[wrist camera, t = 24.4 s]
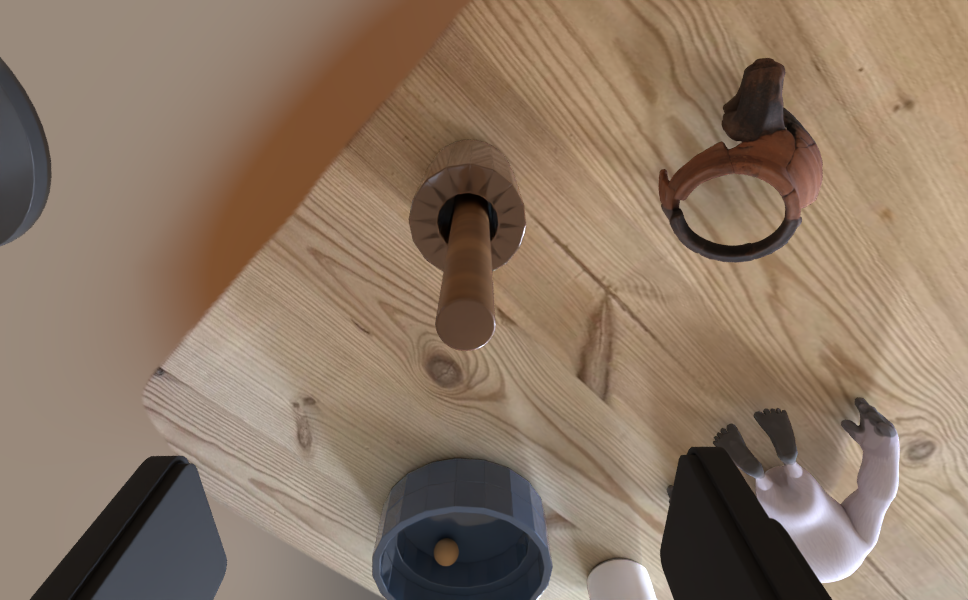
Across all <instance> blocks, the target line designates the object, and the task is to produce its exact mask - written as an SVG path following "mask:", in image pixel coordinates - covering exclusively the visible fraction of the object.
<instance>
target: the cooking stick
mask: <svg viewBox="0 0 968 600" xmlns="http://www.w3.org/2000/svg"><path fill="white" fill-rule="evenodd" d="M435 325H436V331H437V333H438V335H439V337H440V339H441V340H442V341H443V342H444V343H445V344H446V345H448V346H449V347H451V348H453V349H456V350H461V351H471V350H475V349H478V348H480V347H482V346H484V345H485V344H486V343H487V342H488V341H489V340H490V339H491V338H492V336H493V334H494V332H495V327H496V321H495V306H494V290H493V275H492V260H491V245H490V230H489V215H488V201H487V200H486V199H484V198H483V197H482V196H479V195H475V194H471V193H464V194H457V195H456V199H455V205H454V211H453V217H452V224H451V230H450V236H449V242H448V248H447V254H446V260H445V267H444V273H443V279H442V285H441V291H440V297H439V303H438V310H437V316H436V323H435Z"/></svg>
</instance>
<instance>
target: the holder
mask: <svg viewBox="0 0 968 600" xmlns="http://www.w3.org/2000/svg"><path fill="white" fill-rule="evenodd" d="M464 193H471V194H475V195H479V196H482V197H483V198H484V199H486V200H487V201H488V215H489V230H490V245H491V260H492V271H494V270H496V269H498V268H500V267H501V266H503V265H505V264H506V263H507V262H508V261H509V260H510V259H511V257H512V256H513V255H514V254H515V253H516V251H517V250H518V249H519V247H520V245H521V242H522V238H523V235H524V232H525V229H526V218H525V209H524V203H523V200H522V197H521V194H520V190H519V187H518V184H517V181H516V178H515V175H514V172H513V170H512V168H511V166H510V164H509V162H508V160H507V159H506V157H505V156H504V155H503V154H502V153H501V152H500V151H499V150H498V149H497V148H495V147H494V146H492V145H490V144H488V143H486V142H483V141H479V140H471V139H468V140H460V141H456V142H454V143H451V144H449V145H447V146H446V147H444V148H443V149H441V150H440V151H439V152H438V153H437V154H436V156H435V157H434V158H433V160H432V161H431V163H430V164H429V166H428V168H427V170H426V172H425V174H424V176H423V178H422V181H421V183H420V185H419V187H418V189H417V191H416V193H415V196H414V198H413V201H412V206H411V211H410V216H409V224H410V229H411V234H412V238H413V242H414V243H415V245H416V246H417V248H418V249H419V251H420V252H421V254H422V255H423V257H424V258H425V259H426V260H427V261H428V262H430V263H431V264H433V265H434V266H436V267H437V268H439V269H440V270H442V271H443V272H444V267H445V260H446V254H447V248H448V242H449V236H450V230H451V224H452V217H453V211H454V205H455V199H456V195H457V194H464Z"/></svg>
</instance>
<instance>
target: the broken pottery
mask: <svg viewBox="0 0 968 600" xmlns="http://www.w3.org/2000/svg"><path fill="white" fill-rule="evenodd" d="M784 76H785V68H784V66H783V65H782V64H780V63H777V62H775V61H774V60H773V59H771V58H763V59H757V60H756V61H755V62H754V63H753V64H752V65H750V66H748V67H747V68H746V69H745V71H744V75H743V79H742V82H741V85H740V88H739V90H738V92H737V94H736V95H735V96H734V97H733V98H732V99H731V100H730V101H729V102H728V103H726V104H725V105H724V106H723V110H724V112H725V114H724V115H723V121H722V127H723V130H724V131H725V132H726V134H727V135H728V136H729V137H730V138H731V139H733V140H735V141H742V143H741V144H739V145H738V146H736V147H734V148H732V149H727V147H726V146H725V144H724V143H723V142H719V143H717V144H715V145H714V146H712V147H710V148H708V149H706V150H705V151H704V152H702V153H700V154H698V155H696V156H695V157H694V158H692V159H691V160H690V161H689V162H688V163H687V164H685V165H684V166H683V167H681V168H680V169H679V170H678V171H677V172H676V173H675V174H674V176H673V177H672V178H671V180H670V181H669V180H668V176H667V171H666V170H665V169H662V170H661V171H660V175H659V196H660V201H661V202H662V204H661V207H662V210H663V211H664V213H665V215H666V216H667V218H668V219H669V221H670V225H671V227H672V229H673V231H674V233H675V234H676V235H677V237H678V239H679V240H680V241H681V242H682V243H683V244H684V245H685V246H686V247H687V248H689V249H690V250H692V251H694V252H695V253H699V254H700V255H702V256H704V257H707V258H709V259H714V260H718V261H722V262H744V261H751V260H753V259H758V258H761V257H764V256H766V255H769V254H772V253H773V252H774V251H776V250H778V249H780V248H781V247H783V246H784V245H785V244H787V242H788V240H789V239H790V238H791V237H792V235H793V234H794V232H795V231H796V229H797V227H798V226H799V225H800V224H801V222H802V218H801V217H800V213H801V208H804V207H806V206H807V205H810V204H811V203H812V202H814V201H815V200H816V199H817V196H818V194H819V190H820V188H821V184H822V178H823V170H822V165H823V162H822V157H821V154H820V151H819V148H818V147H817V145H816V143H815V141H814V140H813V139H812V137H811V136H810V134H809V133H808V132H807V131H806V130H805V129H804V127H803V126H802V125H801V123H800V122H799V121H798V120H797V119H796V118H795V117H794V116H793V115H792V114H791V113H790V112H789V111H787V110H786V109H785V108H784V107H783V99H782V89H783V81H784ZM785 127H786V128H787V130H786V129H785ZM733 173H735V174H744V175H749V176H753V177H756V178H759V179H761V180H764V181H765V182H767V183H769V184H770V185H772V186H773V187H774V188H775V189H776V190H777V191H778V192H779V193H780V195H781V196H782V198H783V200H784V203H785V218H784V220H783V222H782V224H781V225H780V227H779V228H778V229H777V230H776V231H775V232H774V233H772V234H771V235H770V236H768V237H767V238H765V239H763V240H761V241H759V242H755V243H752V244H751V243H747V244H744V245H738V246H728V245H721V244H717V243H713V242H711V241H708V240H706V239H704V238H702V237H700V236H699V235H697V234H696V233H694V232H693V231H692V230H691V229H690V228H689V226H688V224H687V223H686V221H685V218H684V215H683V212H682V210H681V209H680V208H679V203H680V200H685V199H686V198H687V197H688V196H689V194H690V193H691V192H692V191H693V190H694V189H695V188H696V187H697V186H699V185H700V184H702V183H703V182H706V181H708V180H710V179H712V178H716V177H719V176H723V175H728V174H733Z"/></svg>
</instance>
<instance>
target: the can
mask: <svg viewBox="0 0 968 600" xmlns="http://www.w3.org/2000/svg"><path fill="white" fill-rule="evenodd" d="M587 588H588V593H589V598H590V600H657V599H656V596H655V593H654V590H653V587H652V584H651V581H650V578H649V575H648V573H647V570H646V569H645V568H644V567H643V566H642V565H640V564H638V563H637V562H635V561H632V560H629V559H623V558H617V559H610V560H607V561H604V562H602V563H600V564H598V565H597V566H596V567H595V568H594V569H593V570H592V571H591V573H590V575H589V576H588V579H587Z"/></svg>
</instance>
